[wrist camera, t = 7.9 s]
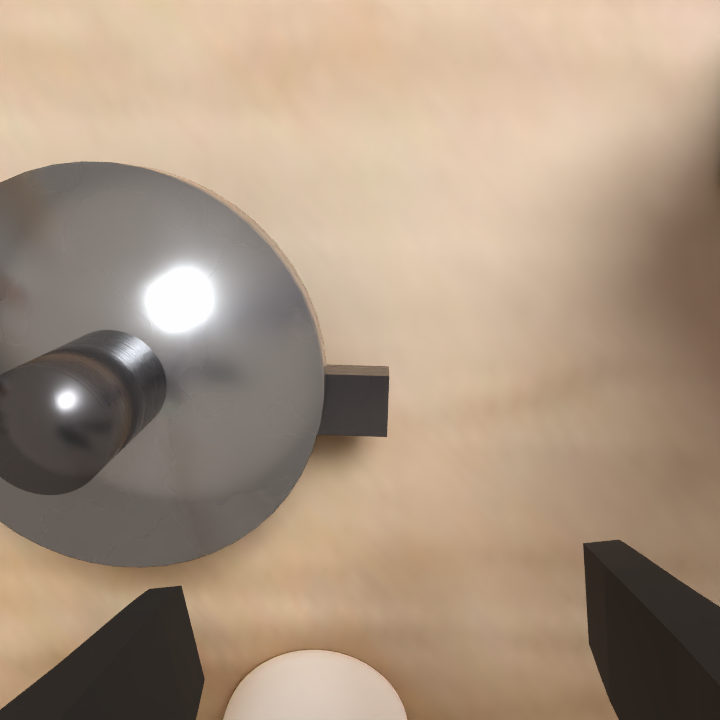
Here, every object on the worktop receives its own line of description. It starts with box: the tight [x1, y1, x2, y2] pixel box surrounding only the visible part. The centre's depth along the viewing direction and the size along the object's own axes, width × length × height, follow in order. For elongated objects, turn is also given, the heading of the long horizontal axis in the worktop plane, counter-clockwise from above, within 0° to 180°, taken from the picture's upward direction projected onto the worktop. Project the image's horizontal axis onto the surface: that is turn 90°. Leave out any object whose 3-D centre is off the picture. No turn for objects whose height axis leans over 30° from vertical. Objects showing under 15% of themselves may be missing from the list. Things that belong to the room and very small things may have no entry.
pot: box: [317, 365, 389, 437], centre depth 19 cm, size 14×10×4 cm
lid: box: [0, 162, 326, 568], centre depth 15 cm, size 11×11×5 cm
